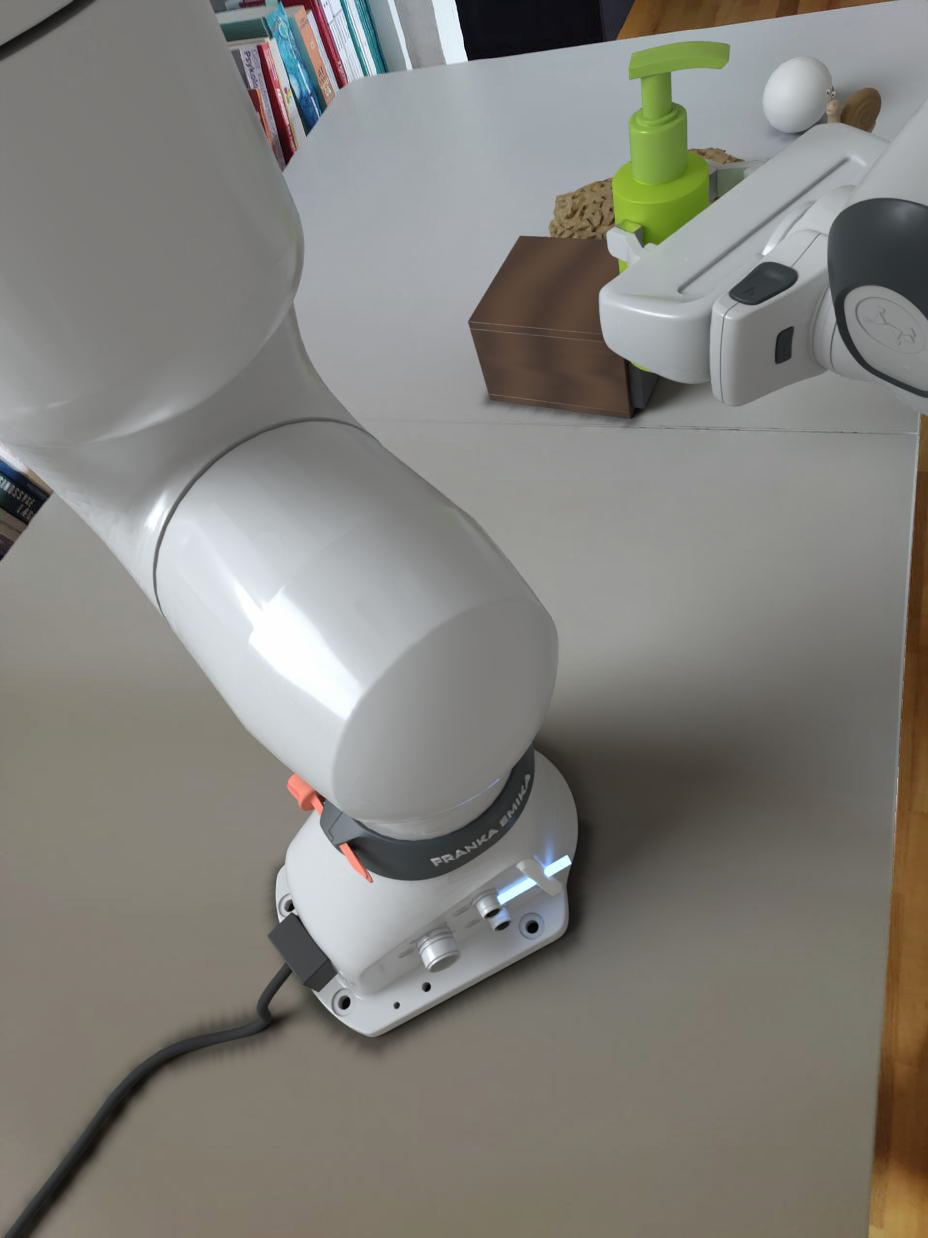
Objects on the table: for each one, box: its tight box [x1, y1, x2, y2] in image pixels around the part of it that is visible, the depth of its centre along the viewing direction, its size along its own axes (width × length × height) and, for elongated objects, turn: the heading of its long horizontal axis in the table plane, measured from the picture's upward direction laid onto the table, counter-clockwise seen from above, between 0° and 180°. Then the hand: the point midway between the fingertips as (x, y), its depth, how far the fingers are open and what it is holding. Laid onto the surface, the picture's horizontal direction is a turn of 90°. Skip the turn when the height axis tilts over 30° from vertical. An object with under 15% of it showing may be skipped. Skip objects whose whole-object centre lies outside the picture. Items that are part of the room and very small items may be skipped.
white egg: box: [762, 55, 835, 134], centre depth 95 cm, size 10×7×7 cm
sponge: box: [548, 147, 746, 240], centre depth 91 cm, size 13×8×20 cm
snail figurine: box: [825, 87, 882, 134], centre depth 84 cm, size 5×6×12 cm
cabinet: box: [467, 235, 636, 420], centre depth 81 cm, size 15×13×10 cm
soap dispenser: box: [612, 40, 731, 373], centre depth 55 cm, size 6×7×20 cm
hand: (654, 205), depth 55 cm, fingers closed on soap dispenser, 6 cm apart
